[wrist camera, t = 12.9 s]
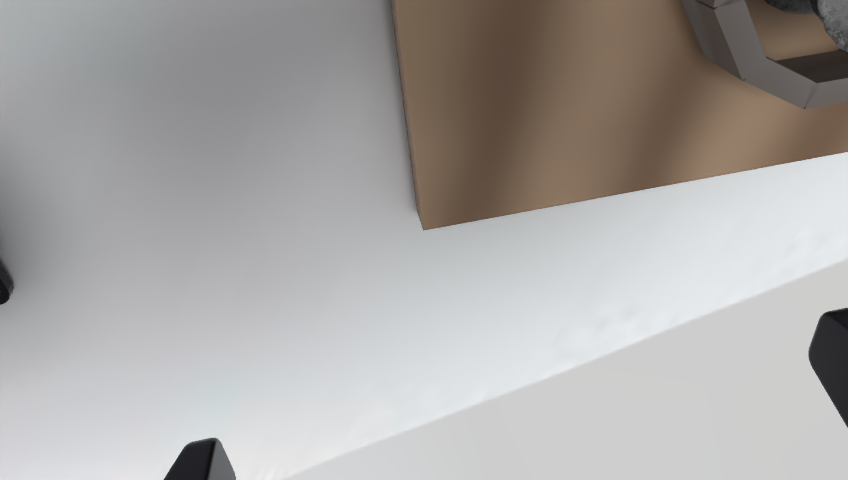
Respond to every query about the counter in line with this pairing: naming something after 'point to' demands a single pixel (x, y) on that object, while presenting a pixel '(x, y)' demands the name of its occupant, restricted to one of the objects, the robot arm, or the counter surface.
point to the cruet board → (606, 97)
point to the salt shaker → (821, 15)
